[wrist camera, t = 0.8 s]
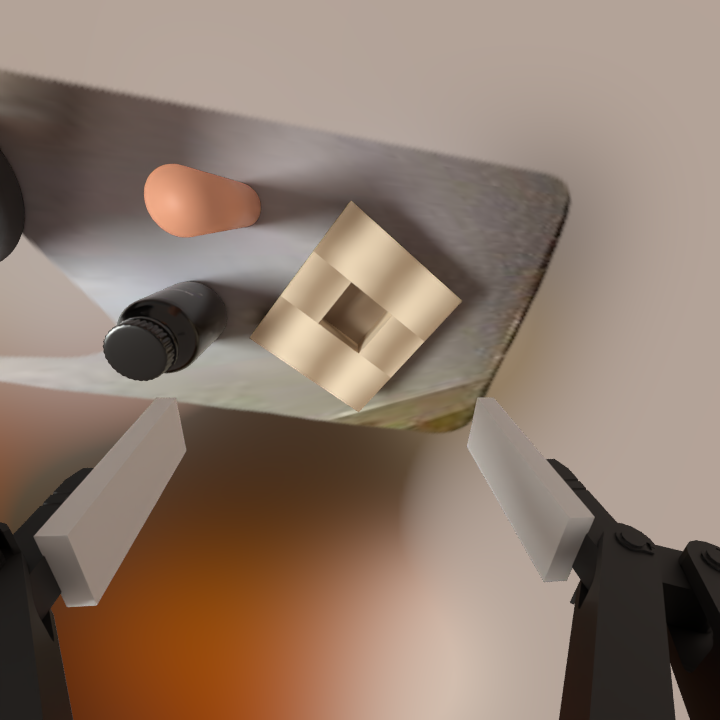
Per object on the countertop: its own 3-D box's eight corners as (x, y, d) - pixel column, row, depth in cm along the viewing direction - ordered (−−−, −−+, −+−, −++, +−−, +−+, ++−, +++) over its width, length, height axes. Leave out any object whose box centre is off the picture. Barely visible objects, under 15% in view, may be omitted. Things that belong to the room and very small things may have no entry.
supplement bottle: (202, 268, 36) (142, 293, 25) (241, 324, 38) (202, 370, 27) (148, 298, 37) (67, 336, 26) (189, 351, 39) (131, 406, 28)
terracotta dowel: (210, 208, 34) (132, 206, 21) (232, 172, 32) (164, 147, 20) (246, 235, 35) (193, 250, 22) (269, 202, 34) (226, 197, 21)
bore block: (258, 324, 38) (249, 338, 34) (349, 201, 34) (351, 200, 30) (356, 392, 42) (358, 412, 38) (448, 291, 38) (462, 300, 34)
